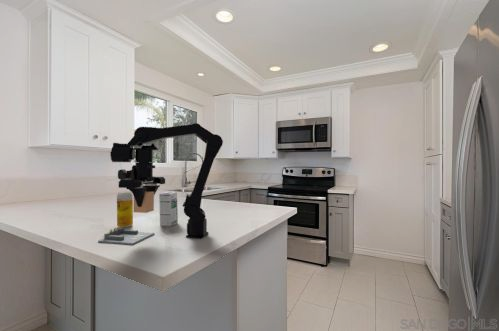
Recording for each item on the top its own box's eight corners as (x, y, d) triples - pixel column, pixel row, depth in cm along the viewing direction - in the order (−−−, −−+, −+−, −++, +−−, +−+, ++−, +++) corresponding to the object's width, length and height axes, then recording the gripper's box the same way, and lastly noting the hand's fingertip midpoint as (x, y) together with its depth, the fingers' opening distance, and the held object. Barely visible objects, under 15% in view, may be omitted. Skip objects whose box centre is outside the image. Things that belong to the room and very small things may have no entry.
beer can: (113, 227, 101) (113, 192, 101) (126, 224, 107) (125, 191, 107) (124, 228, 99) (123, 193, 99) (135, 225, 105) (135, 191, 105)
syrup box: (171, 226, 103) (171, 193, 103) (159, 225, 104) (159, 193, 104) (177, 223, 109) (177, 191, 108) (166, 222, 110) (166, 191, 110)
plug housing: (153, 210, 87) (154, 191, 87) (146, 212, 82) (146, 192, 82) (141, 209, 88) (142, 191, 88) (133, 212, 83) (133, 192, 83)
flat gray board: (154, 234, 91) (154, 225, 91) (133, 244, 79) (132, 234, 79) (123, 232, 94) (123, 223, 94) (98, 242, 82) (98, 232, 82)
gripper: (141, 162, 96) (140, 200, 96) (104, 162, 77) (104, 209, 77) (166, 162, 93) (165, 202, 93) (134, 162, 75) (133, 211, 75)
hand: (143, 205), depth 85 cm, fingers closed on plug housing, 4 cm apart
